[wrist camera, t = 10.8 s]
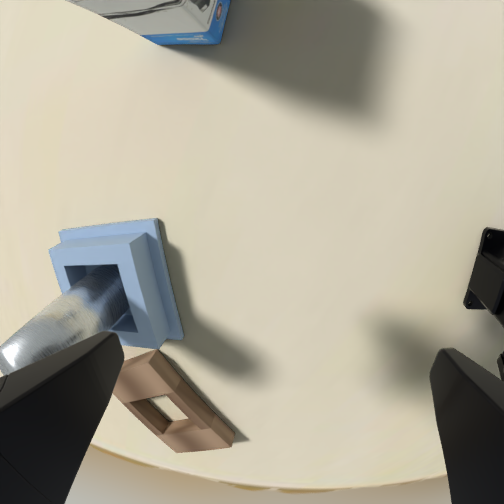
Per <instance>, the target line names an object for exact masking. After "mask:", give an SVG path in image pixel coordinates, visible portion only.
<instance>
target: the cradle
mask: <svg viewBox="0 0 504 504" xmlns="http://www.w3.org/2000/svg"><path fill="white" fill-rule="evenodd" d="M59 236H60V240H61V243H60V244H58V245H56V246H54V247H52V248H51V249H49V254H50V257H51V261H52V264H53V267H54V270H55V274H56V277H57V280H58V283H59V286H60V289H61V292H62V294H63V293H64V292H65V291H67V290H68V289H69V288H70V287H72V286H73V285H74V284H76V283H77V282H78V281H80V280H81V279H82V278H83V277H85V276H86V275H87V274H89V273H90V272H91V271H93V270H94V269H95V268H97V267H98V266H99V265H104V264H118V268H119V272H120V275H121V279H122V283H123V286H124V289H125V293H126V296H127V300H128V303H129V306H130V308H129V309H128V310H127V311H126V312H125V313H124V314H123V315H122V317H121V318H120V319H119V320H118V321H117V322H116V323H115V324H114V325H113V326H112V328H111V329H110V330H109V331H111V332H115V333H117V334H118V336H119V339H120V342H121V345H126V346H134V347H143V348H152V349H160V347H161V346H162V344H163V343H164V341H165V340H166V339H174V340H182V339H183V337H184V333H183V329H182V326H181V322H180V318H179V314H178V310H177V306H176V302H175V298H174V294H173V290H172V286H171V281H170V277H169V273H168V268H167V264H166V259H165V254H164V250H163V245H162V240H161V235H160V230H159V225H158V219H157V218H153V219H144V220H135V221H126V222H117V223H109V224H101V225H93V226H86V227H78V228H71V229H64V230H61V231H59Z"/></svg>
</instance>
